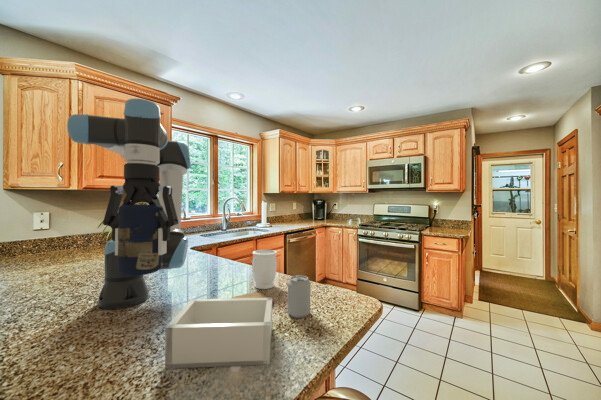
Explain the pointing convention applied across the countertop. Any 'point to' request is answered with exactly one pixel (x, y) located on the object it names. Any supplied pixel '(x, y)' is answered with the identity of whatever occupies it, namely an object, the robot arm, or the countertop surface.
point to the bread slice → (253, 296)
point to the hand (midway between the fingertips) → (141, 254)
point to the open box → (220, 333)
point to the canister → (138, 239)
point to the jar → (264, 268)
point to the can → (299, 296)
